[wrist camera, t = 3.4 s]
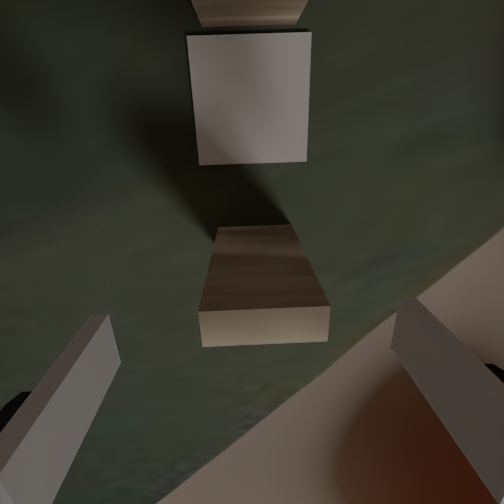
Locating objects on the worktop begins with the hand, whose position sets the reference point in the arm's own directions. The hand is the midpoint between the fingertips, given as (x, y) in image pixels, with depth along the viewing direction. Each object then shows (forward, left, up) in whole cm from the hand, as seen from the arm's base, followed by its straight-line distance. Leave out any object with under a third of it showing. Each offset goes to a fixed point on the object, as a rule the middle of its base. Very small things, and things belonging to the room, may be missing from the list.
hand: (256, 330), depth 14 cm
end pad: (+10, 0, -12) cm, 16 cm away
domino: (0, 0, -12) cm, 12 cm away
